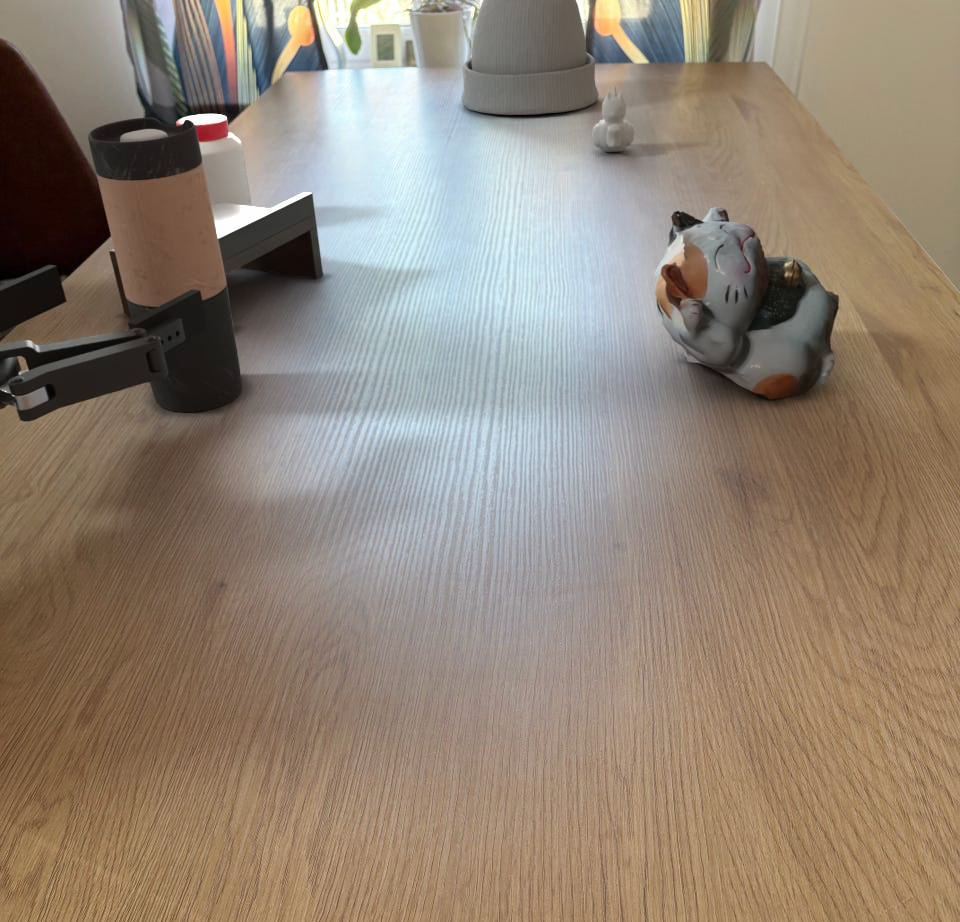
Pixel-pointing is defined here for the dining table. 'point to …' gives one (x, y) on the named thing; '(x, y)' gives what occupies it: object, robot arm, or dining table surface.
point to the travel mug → (169, 250)
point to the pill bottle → (221, 159)
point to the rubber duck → (613, 125)
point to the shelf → (262, 239)
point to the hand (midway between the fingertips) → (127, 295)
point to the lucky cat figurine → (744, 307)
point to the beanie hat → (529, 59)
